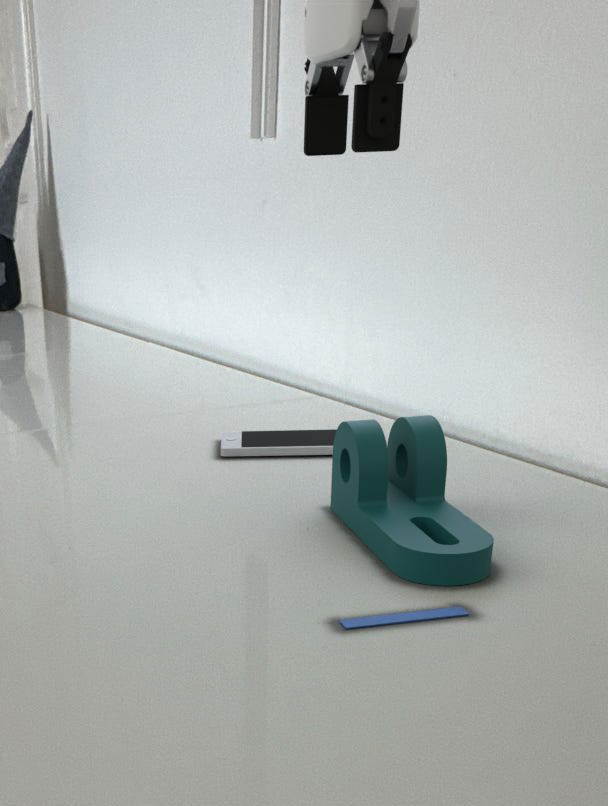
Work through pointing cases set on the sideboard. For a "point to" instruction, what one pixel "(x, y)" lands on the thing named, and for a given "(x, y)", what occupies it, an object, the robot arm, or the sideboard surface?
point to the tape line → (403, 617)
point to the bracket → (406, 502)
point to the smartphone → (278, 442)
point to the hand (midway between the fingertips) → (348, 153)
